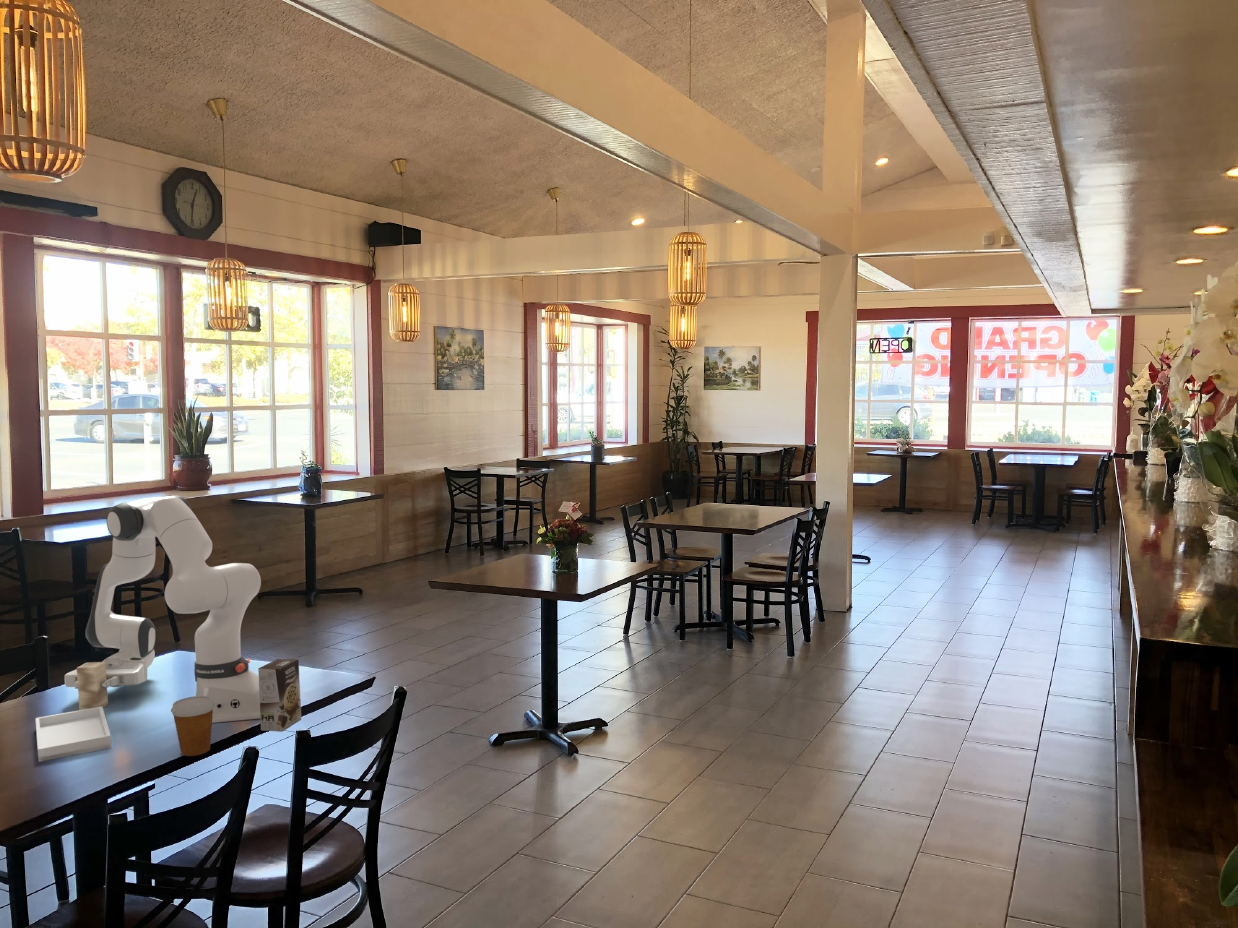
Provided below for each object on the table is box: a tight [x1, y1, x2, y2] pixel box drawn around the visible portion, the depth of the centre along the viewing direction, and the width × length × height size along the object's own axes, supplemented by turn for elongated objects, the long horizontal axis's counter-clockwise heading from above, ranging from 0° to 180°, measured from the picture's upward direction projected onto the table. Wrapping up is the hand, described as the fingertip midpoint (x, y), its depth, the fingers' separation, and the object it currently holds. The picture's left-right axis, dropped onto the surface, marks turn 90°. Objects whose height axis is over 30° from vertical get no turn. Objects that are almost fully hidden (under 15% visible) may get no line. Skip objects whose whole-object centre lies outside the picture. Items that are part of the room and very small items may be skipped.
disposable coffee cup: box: [170, 695, 215, 757], centre depth 223 cm, size 10×10×12 cm
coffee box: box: [257, 658, 302, 733], centre depth 239 cm, size 9×6×16 cm
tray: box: [35, 706, 112, 763], centre depth 234 cm, size 26×15×3 cm, turn 33°
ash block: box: [76, 661, 109, 710], centre depth 256 cm, size 5×5×12 cm
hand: (90, 685), depth 256 cm, fingers open, 6 cm apart
